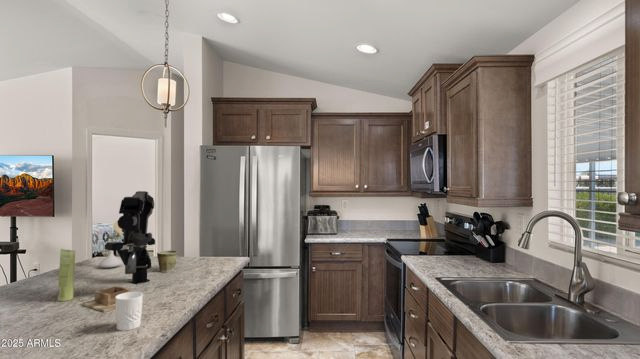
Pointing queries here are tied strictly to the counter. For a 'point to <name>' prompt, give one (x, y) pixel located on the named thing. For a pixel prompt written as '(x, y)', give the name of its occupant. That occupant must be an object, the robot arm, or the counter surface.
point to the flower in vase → (111, 259)
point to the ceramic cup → (167, 260)
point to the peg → (131, 262)
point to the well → (106, 298)
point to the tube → (66, 275)
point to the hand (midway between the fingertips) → (130, 264)
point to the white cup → (128, 310)
